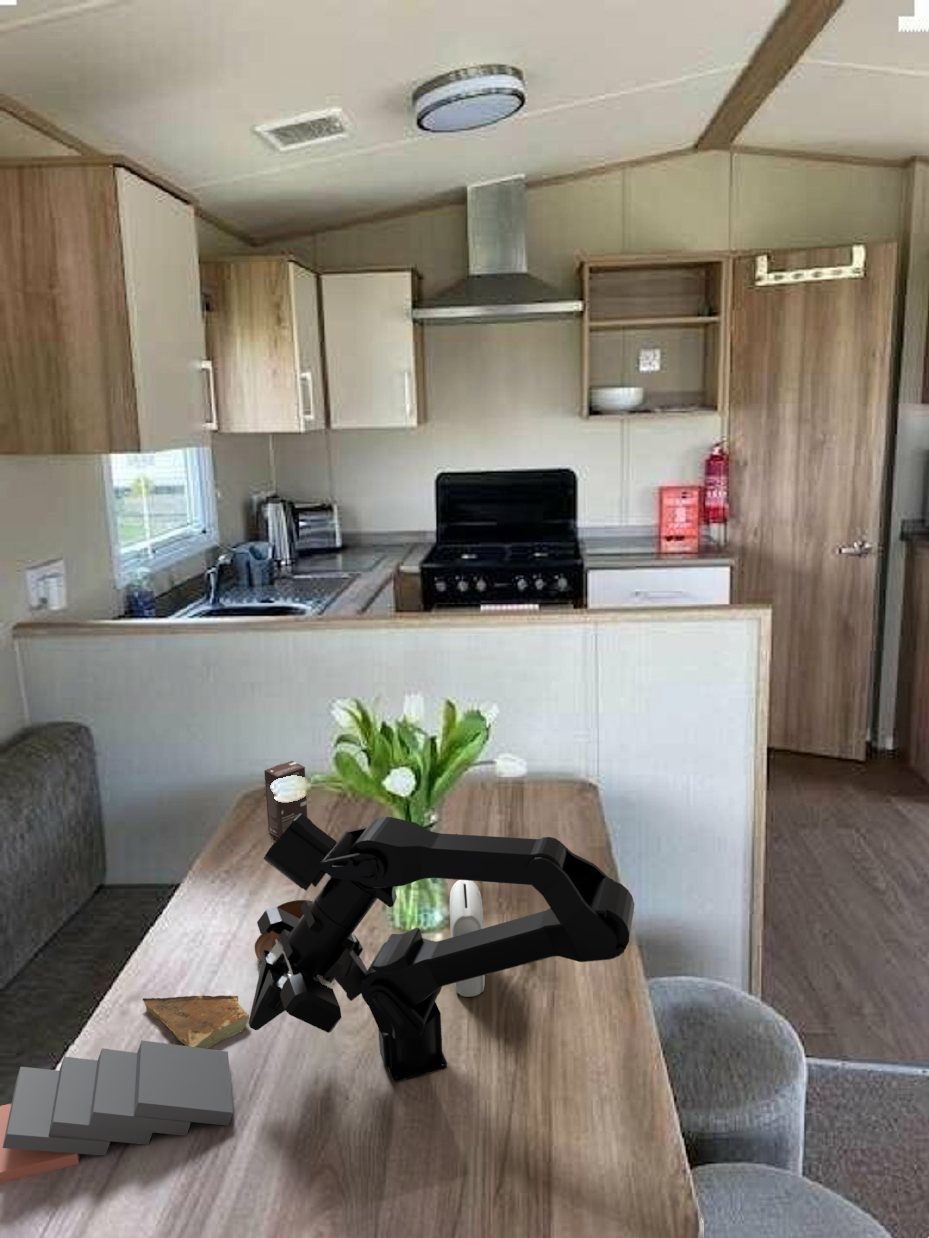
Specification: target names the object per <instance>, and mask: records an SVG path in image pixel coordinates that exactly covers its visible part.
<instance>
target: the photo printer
mask: <svg viewBox="0 0 929 1238" xmlns="http://www.w3.org/2000/svg"><path fill="white" fill-rule="evenodd" d="M483 914H484V911H483V901H482V895H481V892H480V889H479V887H478V885H477V884H476V883H475V881H469V880H456V882H454V884H453V885H452V887H451V889H450V893H449V916H450V917H449V923H450V924H449V925H450V928H449V929H450V938H452V937H455V936H459V935H462V934H466V933H469V932H473V931H476V930H480V929H483V928H484V915H483ZM485 984H486V975H483V976H479V977H475V978H471V979H468V980H464V981H460V982H457V983H453V985H454V990H455V992H456V994H459V995H460V996H462V997H467V998H468V997H469V998H470V997H476V996H478V995H480V994H481V993H483V992H484V990H485Z"/></svg>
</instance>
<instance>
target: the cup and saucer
mask: <svg viewBox="0 0 929 1238" xmlns="http://www.w3.org/2000/svg"><path fill="white" fill-rule="evenodd" d="M305 900H307V901H309V902H311V903H312V902H313V901H314V900H313V901H312V900H308V899H295V900H290V901H288V902H284V903H282V904H280V905H278V906H277V907H278V908H280V909H282V910H284V911H286V912H288V913H289V914H291V915H293V916H295V917H297V918H299V919H301V917H302V916H303V915H304V914H303V912H302V909H301V906H302V904H303V903H304V901H305ZM277 938H279V934H277V933H275V932H273V931H271V932H270V933H269V934H267V935H263V934H261V933H260V935H259V936H258V937H257V939H256V940H255V943H254V953H255V956H256V958H257V959H258V961H259V962H262V952H263V951H264V950H267V951H269V952H270V951H271V950H272V949H273V947H274V946H275V944H276V942H275V940H276V939H277ZM279 939H280V938H279Z"/></svg>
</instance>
